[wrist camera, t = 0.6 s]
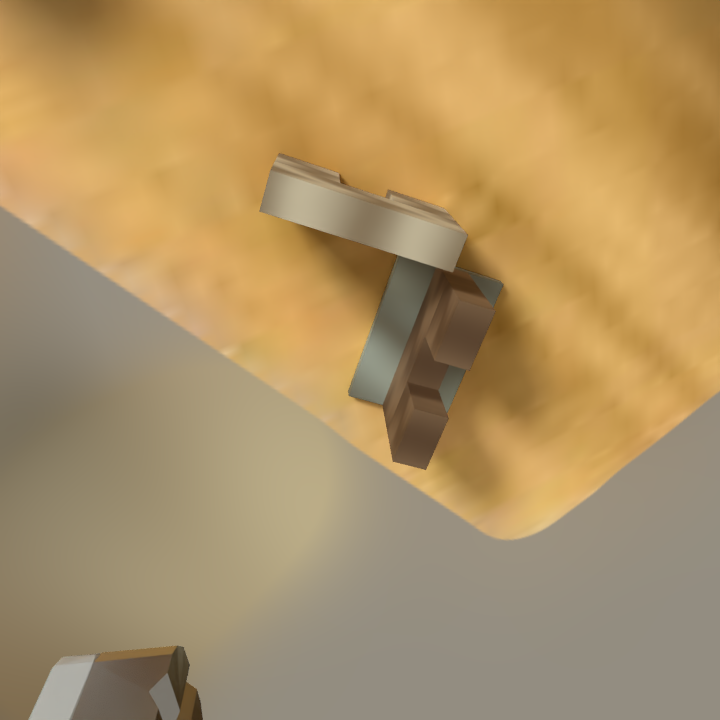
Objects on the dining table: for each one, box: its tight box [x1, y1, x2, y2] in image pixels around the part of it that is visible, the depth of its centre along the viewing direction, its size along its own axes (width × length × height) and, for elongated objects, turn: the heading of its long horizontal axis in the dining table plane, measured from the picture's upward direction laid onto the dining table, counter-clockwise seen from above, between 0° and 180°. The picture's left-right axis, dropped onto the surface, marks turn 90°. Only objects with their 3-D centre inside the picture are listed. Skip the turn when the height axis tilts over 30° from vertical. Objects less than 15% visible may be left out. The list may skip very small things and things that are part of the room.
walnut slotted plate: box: [348, 255, 503, 470], centre depth 45 cm, size 12×8×9 cm, turn 162°
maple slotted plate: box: [260, 153, 468, 272], centre depth 41 cm, size 12×2×8 cm, turn 72°
